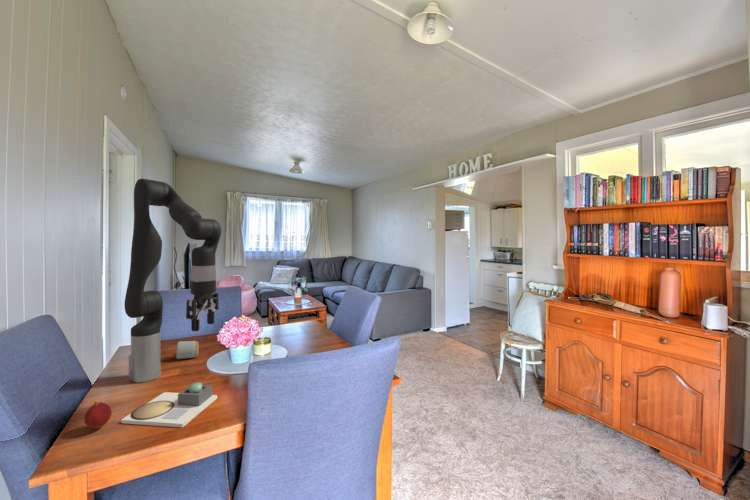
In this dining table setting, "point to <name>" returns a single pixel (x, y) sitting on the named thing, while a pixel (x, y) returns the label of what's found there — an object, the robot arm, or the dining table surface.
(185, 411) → the picture board
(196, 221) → the robot arm
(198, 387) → the button
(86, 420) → the onion
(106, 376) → the dining table surface
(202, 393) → the button housing
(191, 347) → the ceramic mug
